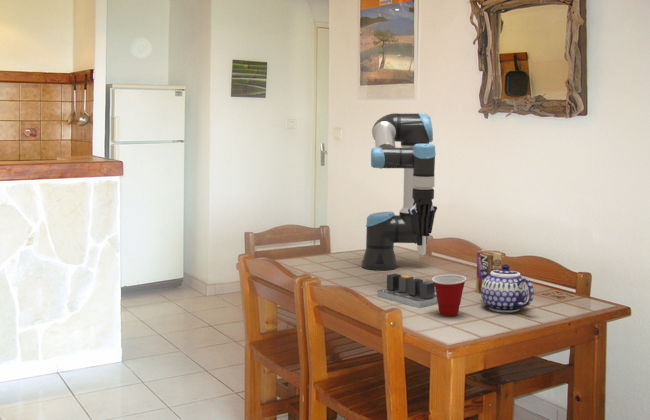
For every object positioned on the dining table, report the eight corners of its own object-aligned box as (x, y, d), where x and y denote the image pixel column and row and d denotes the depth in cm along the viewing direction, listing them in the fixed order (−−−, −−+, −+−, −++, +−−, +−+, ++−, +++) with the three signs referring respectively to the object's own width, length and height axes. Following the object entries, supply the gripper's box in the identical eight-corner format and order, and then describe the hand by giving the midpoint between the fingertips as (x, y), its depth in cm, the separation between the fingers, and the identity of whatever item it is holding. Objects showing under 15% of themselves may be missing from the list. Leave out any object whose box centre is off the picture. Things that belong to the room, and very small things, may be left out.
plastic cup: (423, 312, 224) (424, 275, 223) (450, 308, 229) (451, 272, 228) (445, 320, 215) (446, 282, 213) (472, 316, 220) (473, 279, 219)
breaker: (406, 289, 246) (407, 274, 245) (413, 291, 244) (413, 276, 243) (398, 291, 243) (399, 276, 243) (405, 292, 241) (405, 277, 240)
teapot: (548, 315, 222) (550, 270, 220) (510, 321, 215) (513, 274, 214) (497, 297, 244) (498, 256, 242) (462, 301, 238) (463, 259, 236)
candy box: (500, 295, 247) (502, 253, 245) (491, 296, 245) (492, 254, 243) (484, 290, 255) (486, 249, 253) (475, 291, 253) (476, 250, 251)
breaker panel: (415, 288, 258) (416, 269, 257) (458, 298, 243) (459, 278, 242) (377, 296, 245) (377, 276, 244) (419, 307, 230) (420, 286, 229)
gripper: (427, 185, 251) (425, 249, 255) (402, 188, 243) (401, 254, 246) (443, 187, 245) (441, 253, 249) (418, 190, 237) (417, 258, 241)
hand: (421, 253), depth 248 cm, fingers closed
